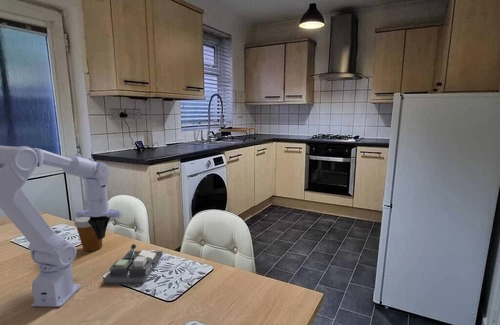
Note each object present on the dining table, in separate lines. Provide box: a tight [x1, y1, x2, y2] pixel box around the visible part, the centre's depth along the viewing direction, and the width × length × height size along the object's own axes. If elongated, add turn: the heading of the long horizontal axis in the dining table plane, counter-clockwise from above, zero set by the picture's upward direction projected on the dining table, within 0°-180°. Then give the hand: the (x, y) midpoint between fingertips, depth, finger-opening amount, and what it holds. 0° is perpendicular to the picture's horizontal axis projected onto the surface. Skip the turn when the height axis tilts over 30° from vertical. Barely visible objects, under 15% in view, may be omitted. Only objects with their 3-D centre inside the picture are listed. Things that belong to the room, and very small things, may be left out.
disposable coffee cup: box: [73, 217, 103, 252], centre depth 108 cm, size 10×10×12 cm
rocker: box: [138, 249, 156, 260], centre depth 98 cm, size 4×5×1 cm
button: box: [115, 259, 129, 267], centre depth 92 cm, size 3×3×2 cm
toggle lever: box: [128, 243, 137, 258], centre depth 97 cm, size 2×2×5 cm
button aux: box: [133, 256, 147, 267], centre depth 91 cm, size 3×3×2 cm
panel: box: [103, 250, 163, 286], centre depth 95 cm, size 18×12×3 cm
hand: (101, 237), depth 95 cm, fingers closed
